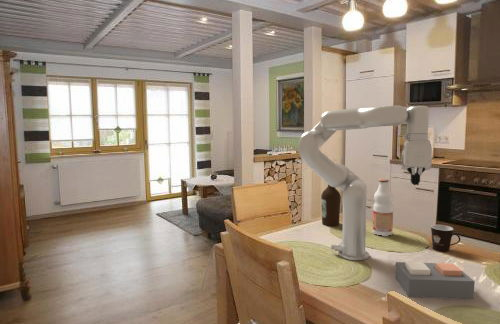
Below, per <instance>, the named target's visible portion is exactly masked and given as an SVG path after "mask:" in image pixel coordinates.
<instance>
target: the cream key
mask: <svg viewBox="0 0 500 324" xmlns="http://www.w3.org/2000/svg"><path fill="white" fill-rule="evenodd" d="M424 263H425V262H414V261H413V262H410V261H407V262H406V261H405V268H406V270H407V271H408V272H409V273H410V275H430V269H429V268H428V267H427V266H426V265H425V264H424Z"/></svg>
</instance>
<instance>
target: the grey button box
mask: <svg viewBox="0 0 500 324" xmlns="http://www.w3.org/2000/svg"><path fill="white" fill-rule="evenodd" d="M405 262H406V261H405ZM405 262H403V261H401V262H400V261H396V262H395V277H394V278H395V280H396V281H397V282H398V284H399V286H400V287H401V288H402V289H403V291H404V292H405V294H406V295H407V297H409V298H428V299H429V298H431V299H457V300H458V299H459V300H474V296H475V295H474V294H475V280H474V279H473V278H471V277H470V276H469V275H468V274H466V273H465V271H464V270H462V269H461V268H459V269H460V270H462V276H442V275H441V274H440V273H439V272H438V271H437V270H436V269H435V263H436V262H423V263H424V264H425V265H426V266H427V267H428V268H429V269H430V275H410V273H409V272H408V271H407V270H406V268H405Z"/></svg>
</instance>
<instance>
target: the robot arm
mask: <svg viewBox="0 0 500 324" xmlns="http://www.w3.org/2000/svg"><path fill="white" fill-rule="evenodd" d="M429 116H430V108H429V107H428V106H426V105H412V106H402V105H387V106H376V107H375V106H374V107H358V108H356V107H355V108H347V109H345V108H344V109H336V110H327V111H325V112H324V113H321V116H320V117H319V122H318V123H316V125H315V126H314V127H313V128H312V129H311V130H308V131H305V132H304V133H303V134H301V136H300V138H299V140H298V145H297V150H298V154H299V157H300V159H301V160H302V162H303V163H304V164H306V166H307V167H309V169H311V170H312V171H313V172H314V173H315V174H316V175H317V176H318V177H320V179H322V180H323V181H324V182H325V183H326V184H327V186H328V185H330V186H332V187H335V188H338V189H339V190H341V192H342V195H341V196H342V197H341V200H342V201H341V202H342V203H341V204H342V231H341V232H342V236H341V237H342V239H341V241H342V242H340V243H338V244H331V245H330V249H331V250H334V251H335V252H338V256H340V257H341V258H343V259H345V260H350V261H365V260H367V259H369V257H370V253H369V252H368V251H367V250H366V237H367V236H366V234H367V201H368V200H367V197H368V196H367V195H368V190H369V189H368V186H367V184H366V183H365V182H364V180H362V179H361V178H360V177H359V176H358V175H356V174H355V172H353V171H351V169H350V168H348V167H347V166H345V165H344V164H343V163H338V162H337V163H335V162H334V161H333V160H332V159H330V158H329V157H328V156H327V155H326V154H325V153H323V152H322V151H321V150H320V149H319V148H321V147H322V146H324V145H325V143H327V142H328V140H329V139H330V138H332V136H333V135H334V134H335V133H336V132H337V131H348V130H361V129H367V128H368V129H369V128H377V127H378V128H379V127H391V126H392V127H393V126H394V127H395V126H401V125H406V134H403V135H402V139H405V140H406V141H404V143H403V146H402V151H401V152H402V154H401V167H400V169H401V170H404V171H407V172H408V173H409V174H410V183H411V185H414V186H419V184H420V182H421V176H422V174H423V172H425V171H429V170H431V166H432V164H433V163H432V161H433V156H432V154H433V152H432V145H431V141H429V121H430V120H429V119H430V118H429Z"/></svg>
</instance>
